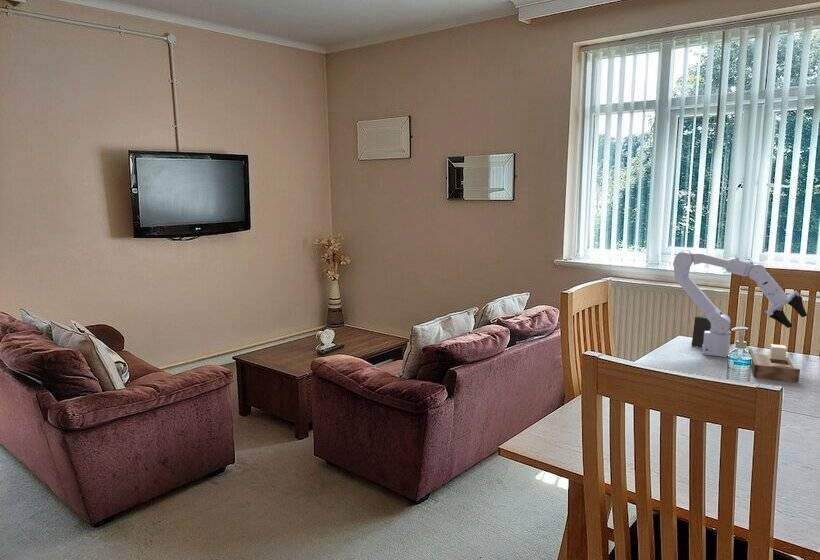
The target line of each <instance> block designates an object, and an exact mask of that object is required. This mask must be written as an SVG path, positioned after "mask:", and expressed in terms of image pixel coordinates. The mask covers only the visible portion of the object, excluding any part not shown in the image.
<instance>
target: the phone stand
mask: <svg viewBox="0 0 820 560" xmlns="http://www.w3.org/2000/svg"><path fill="white" fill-rule="evenodd" d="M710 329H712V326H711V323H710V321H709V320H708V319H707V317H706V316H700V315H695V316H694V325H693V331H692V339H691V345H694V346H693V347H695V346H698V347H697V348H702V344H703V341H704V331H710Z"/></svg>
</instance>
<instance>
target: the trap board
mask: <svg viewBox="0 0 820 560" xmlns="http://www.w3.org/2000/svg"><path fill="white" fill-rule="evenodd" d="M747 353H749V354H750V355H751V357H752V364H751V367H750V368H751V369H750V370H751V372H752V376H753V378H757V379H765V380H772V381H773V380H775V381H781V382H788V381H790V382H789V383H796V382H799V381H800V372H801V369H799V368H795V367H794V365H793V363H792V362H791V360H790V357H788V356H786V360H778V359H771V357H770V354H761V353H754V351H753V348H751V347H748V352H747ZM799 383H800V382H799Z"/></svg>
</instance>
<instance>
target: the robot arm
mask: <svg viewBox="0 0 820 560" xmlns="http://www.w3.org/2000/svg"><path fill="white" fill-rule="evenodd" d="M699 264H707V265H711V266H715V267H720V268H724V269H725V271H726V272H727V273H731V274H735V275H736V276H737V275H738V276H742V277H749V279H750V280H753V281H754V282H755V284H757V287H758V288H759V289H760V291H761V292H762V293H763V295H764V296H765V297H766V299H768V300H769V302H770V303H771V304H772V305H771V306H770V307H769V308H768V309H766V310H765V314H766V315H767V316H768V317H769V318H770V319H773V320H775V321H777V322H779V323H780V324H782V325H783V326H784V327H786V328H787V329H789V328H792V327H793V325H792V323H791V322H790V320H789V319H788V318H787V316H786V314H785V311H784V310H780V309H781V308H783V307H784V306H785V305H787V304H788V305H789V306H790V307H791V308H793V309H794V311H795V312H796V313H797V314H799V316H800V317H801V318H804V317H807V316H808V313H807V311H806V310H805V307H804V303H803V297H802V296H800V295H801V294H800V293H799V292H798V290H794V291H792V292H790V293H788V294H787V293H786V292H785V291H784V290H783V289H782V287H781V286H780V285H779V284H778V282H777V281H776V280H775V279H774V278H773V276H771V274H770V273H768V271H767V270H766V268H765V266H764V265H763V264H761V263H759V262H754V261H752V260H750V261H747V260H744V259H740V257H738V256H736V257H730V258H729V259H725V258H722V257H718V256H715V255H713V254H707V253H704V252H699V251H693V250H692V251H690V250H687V249H683V250H681V251H680V252H678V253H677V254H676V256H675V257H674V259H673V262H672V265H673V274H674V280H675V281H676V282H677V283H678V285H679V286H680V287H681V289H683V291H684V292H686V294H687V295H688V296H689V297H690V298H691V300H692V301H693V302H694V303H695V305H696V306H698V308H699V310H701V312H703V314H704V315H705V317H707V319H708V320H709V321H710V323H711V329H710V331H704V341H703V344H702V347H701V349H702V354H703V355H704V356H705V355H706V356H715V357H723V358H728V357H727V356H728V354H729V353H730V345H731V336H732V335H731V333H732V331H731V330H730V328H731V323H732V320H731V317H730V316H729V315H728V314H727V313H724V312H722V311H721V310H720V309H719V308H718V307H717V306H716V305H715V304H714V303H713V302H712V301H711V300H710V299H709V297H708V296H707V295H706V294H705V293H704V291H703V290H702V289H701V288H700V287H699V286H698V285H697V284H696V282H695V281H694V280H693V279H692V278H691V277H690V270H691V266H692V265H695V266H696V265H699ZM730 354H731V353H730Z"/></svg>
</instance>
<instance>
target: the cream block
mask: <svg viewBox="0 0 820 560" xmlns="http://www.w3.org/2000/svg"><path fill="white" fill-rule="evenodd" d="M787 349H788V348H787V346H786V345H785V344H784V345H783V344H775V343H771V344H770V350H769V355H770V357H771V359H778V360H786V357H787Z"/></svg>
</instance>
